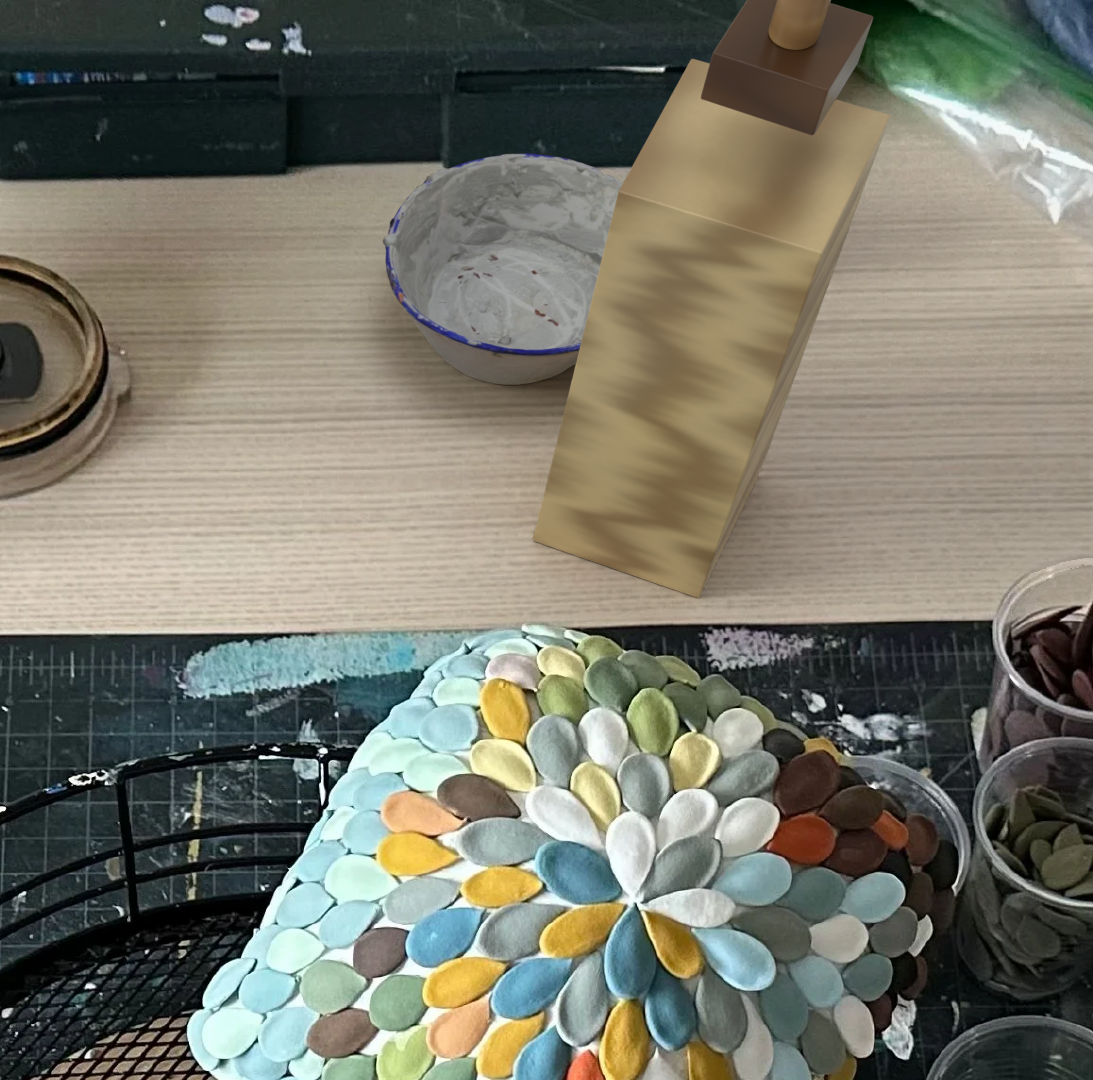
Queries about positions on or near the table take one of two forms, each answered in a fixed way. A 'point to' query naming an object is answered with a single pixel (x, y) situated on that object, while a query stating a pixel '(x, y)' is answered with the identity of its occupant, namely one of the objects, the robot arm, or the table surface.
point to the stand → (698, 330)
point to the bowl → (503, 262)
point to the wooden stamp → (786, 60)
